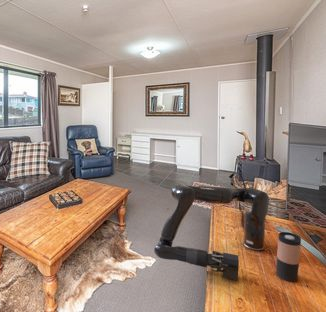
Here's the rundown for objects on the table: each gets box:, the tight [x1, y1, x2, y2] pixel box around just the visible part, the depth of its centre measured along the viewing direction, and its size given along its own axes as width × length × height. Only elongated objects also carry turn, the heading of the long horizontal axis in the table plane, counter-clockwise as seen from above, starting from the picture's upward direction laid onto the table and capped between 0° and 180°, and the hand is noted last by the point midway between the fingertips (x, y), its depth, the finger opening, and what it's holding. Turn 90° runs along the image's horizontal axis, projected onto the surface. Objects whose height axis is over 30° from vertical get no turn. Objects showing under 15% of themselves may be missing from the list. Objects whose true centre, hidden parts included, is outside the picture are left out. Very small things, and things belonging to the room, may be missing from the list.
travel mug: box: [276, 231, 302, 283], centre depth 103 cm, size 8×8×20 cm
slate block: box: [221, 252, 240, 282], centre depth 106 cm, size 4×6×10 cm
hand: (237, 265), depth 105 cm, fingers closed on slate block, 4 cm apart
